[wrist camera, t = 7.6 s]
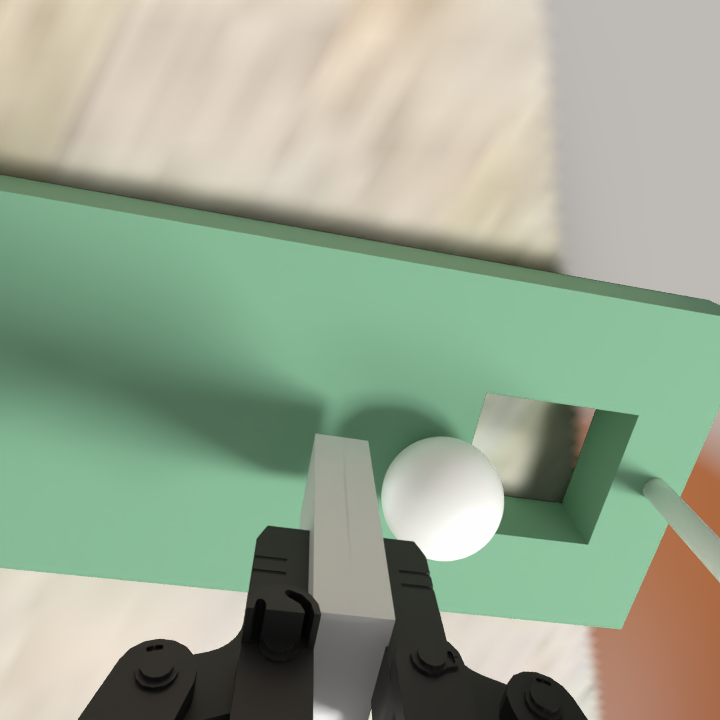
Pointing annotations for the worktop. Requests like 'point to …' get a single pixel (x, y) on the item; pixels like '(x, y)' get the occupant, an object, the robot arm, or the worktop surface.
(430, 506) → the ball
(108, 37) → the worktop surface
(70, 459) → the putting strip
